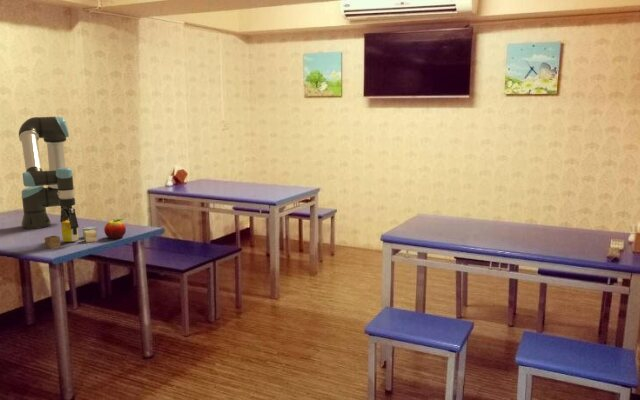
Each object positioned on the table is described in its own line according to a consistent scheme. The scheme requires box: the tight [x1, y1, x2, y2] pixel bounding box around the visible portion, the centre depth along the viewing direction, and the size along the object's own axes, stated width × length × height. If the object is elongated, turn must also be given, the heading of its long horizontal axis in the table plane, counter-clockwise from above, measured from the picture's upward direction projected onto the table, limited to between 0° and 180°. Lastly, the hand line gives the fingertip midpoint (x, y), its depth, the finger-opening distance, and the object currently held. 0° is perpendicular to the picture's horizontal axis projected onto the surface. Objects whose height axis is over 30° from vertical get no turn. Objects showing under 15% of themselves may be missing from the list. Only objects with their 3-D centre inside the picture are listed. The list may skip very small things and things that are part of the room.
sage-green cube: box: [82, 226, 98, 239], centre depth 282 cm, size 5×5×5 cm
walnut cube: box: [44, 235, 61, 249], centre depth 263 cm, size 5×5×5 cm
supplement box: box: [60, 219, 80, 244], centre depth 272 cm, size 6×6×11 cm
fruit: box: [103, 218, 127, 240], centre depth 279 cm, size 11×11×10 cm
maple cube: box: [84, 230, 98, 243], centre depth 273 cm, size 5×5×5 cm
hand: (70, 238), depth 272 cm, fingers open, 12 cm apart
